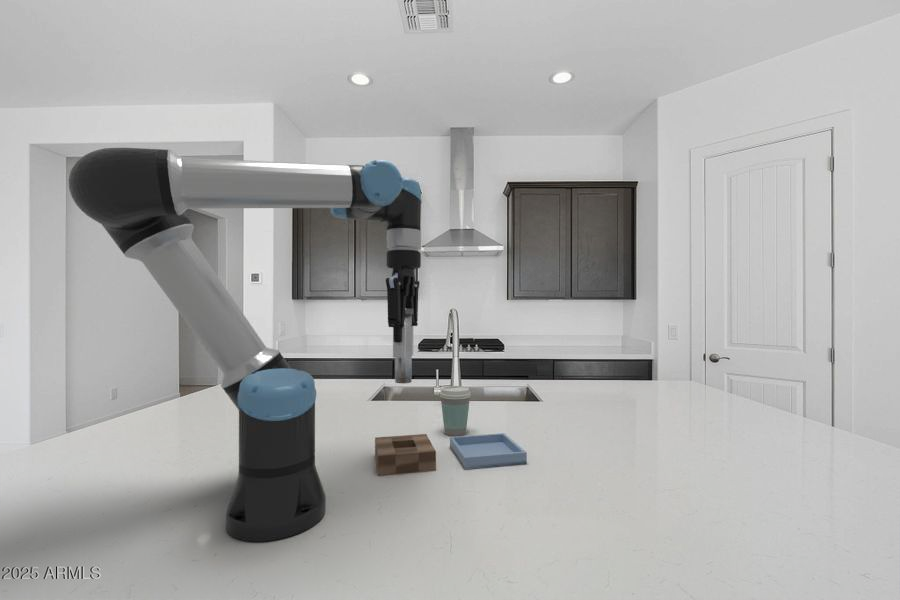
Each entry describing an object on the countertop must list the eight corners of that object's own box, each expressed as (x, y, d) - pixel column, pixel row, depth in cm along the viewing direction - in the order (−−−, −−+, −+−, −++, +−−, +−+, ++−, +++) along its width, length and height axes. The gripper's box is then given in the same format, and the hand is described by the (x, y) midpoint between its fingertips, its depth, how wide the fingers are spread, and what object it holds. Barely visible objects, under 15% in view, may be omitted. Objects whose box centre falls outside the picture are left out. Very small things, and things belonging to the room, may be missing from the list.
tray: (526, 463, 92) (526, 452, 92) (464, 469, 89) (464, 457, 89) (504, 443, 106) (504, 433, 106) (449, 447, 103) (449, 437, 103)
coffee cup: (471, 428, 118) (471, 385, 118) (470, 438, 110) (470, 392, 110) (441, 427, 119) (441, 385, 119) (437, 437, 110) (437, 391, 110)
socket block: (435, 470, 89) (435, 451, 89) (377, 475, 86) (378, 455, 86) (426, 450, 100) (426, 433, 100) (375, 454, 98) (375, 437, 98)
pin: (415, 380, 94) (416, 308, 95) (408, 384, 90) (408, 308, 91) (398, 379, 96) (398, 308, 96) (390, 383, 92) (390, 308, 92)
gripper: (403, 255, 102) (402, 351, 102) (370, 246, 87) (370, 360, 86) (432, 254, 100) (432, 352, 100) (404, 244, 84) (404, 362, 84)
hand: (403, 356), depth 93 cm, fingers closed on pin, 3 cm apart
